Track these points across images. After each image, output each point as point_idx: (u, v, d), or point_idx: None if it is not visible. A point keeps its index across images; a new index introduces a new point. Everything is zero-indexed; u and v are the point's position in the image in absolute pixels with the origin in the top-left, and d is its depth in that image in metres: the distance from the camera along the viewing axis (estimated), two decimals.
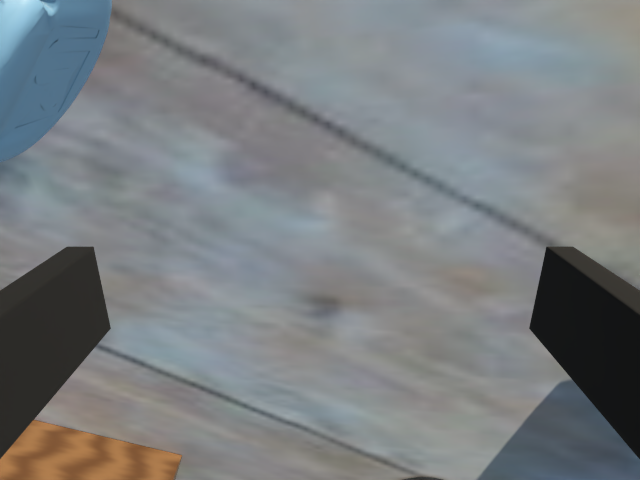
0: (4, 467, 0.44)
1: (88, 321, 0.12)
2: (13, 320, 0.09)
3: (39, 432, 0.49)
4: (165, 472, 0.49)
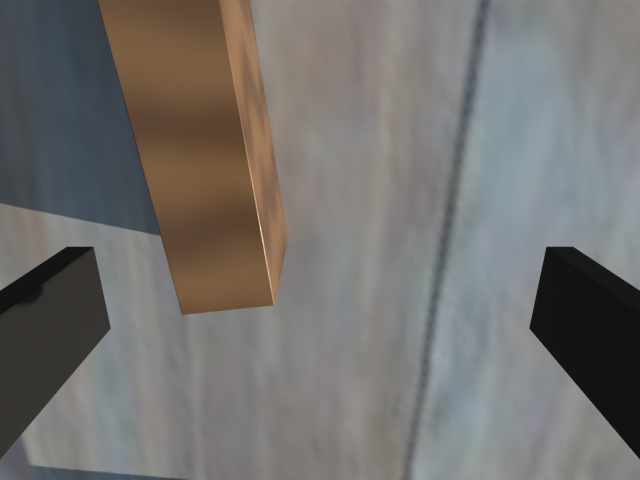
0: None
1: (88, 321, 0.12)
2: (13, 320, 0.09)
3: None
4: (281, 240, 0.25)
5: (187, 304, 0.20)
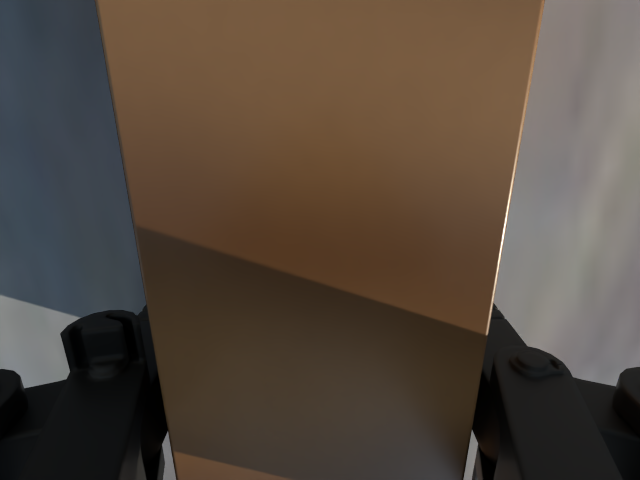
0: None
1: None
2: None
3: None
4: None
5: None
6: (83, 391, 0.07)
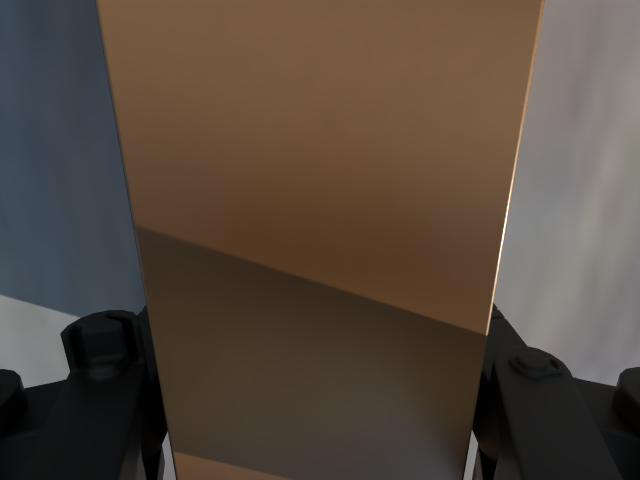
0: None
1: None
2: None
3: None
4: None
5: None
6: (83, 391, 0.07)
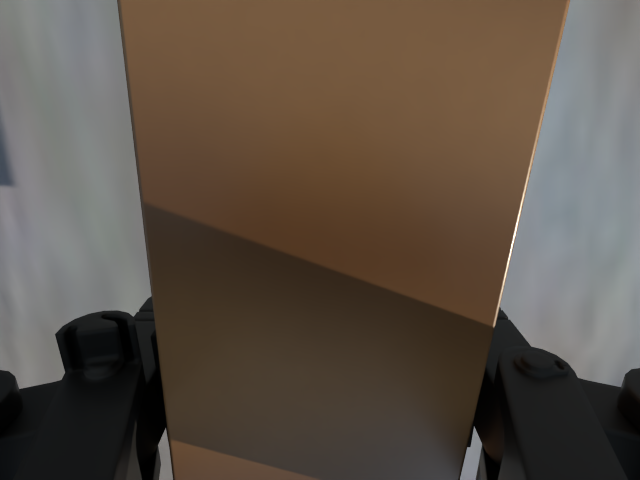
0: None
1: None
2: None
3: None
4: None
5: None
6: (78, 392, 0.07)
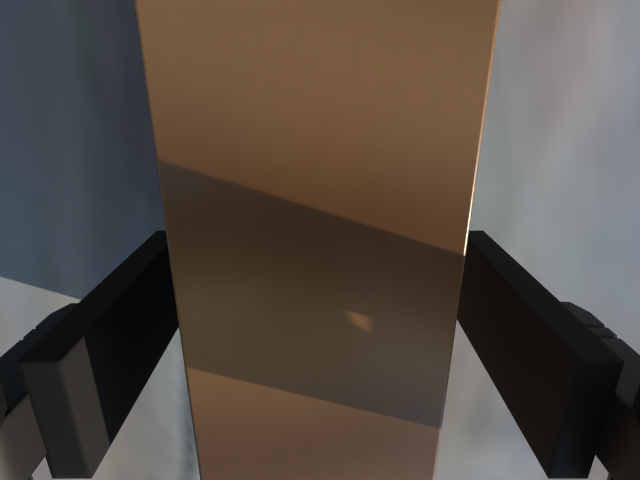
0: None
1: None
2: (137, 290, 0.10)
3: None
4: None
5: None
6: None
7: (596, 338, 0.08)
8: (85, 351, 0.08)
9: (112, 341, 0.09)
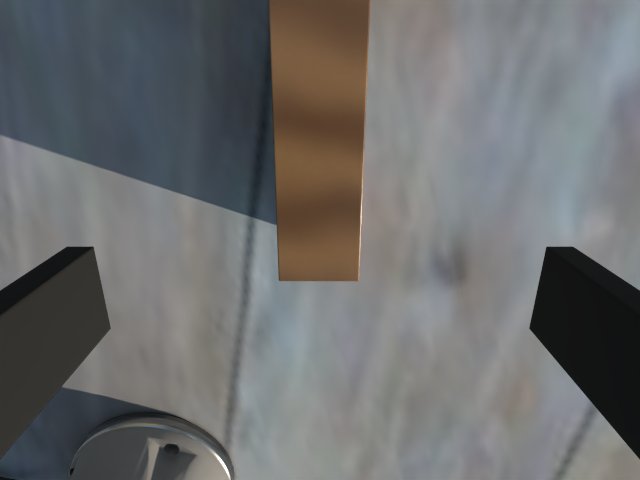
0: None
1: (88, 321, 0.12)
2: (13, 320, 0.09)
3: None
4: None
5: (285, 272, 0.24)
6: None
7: None
8: None
9: None
